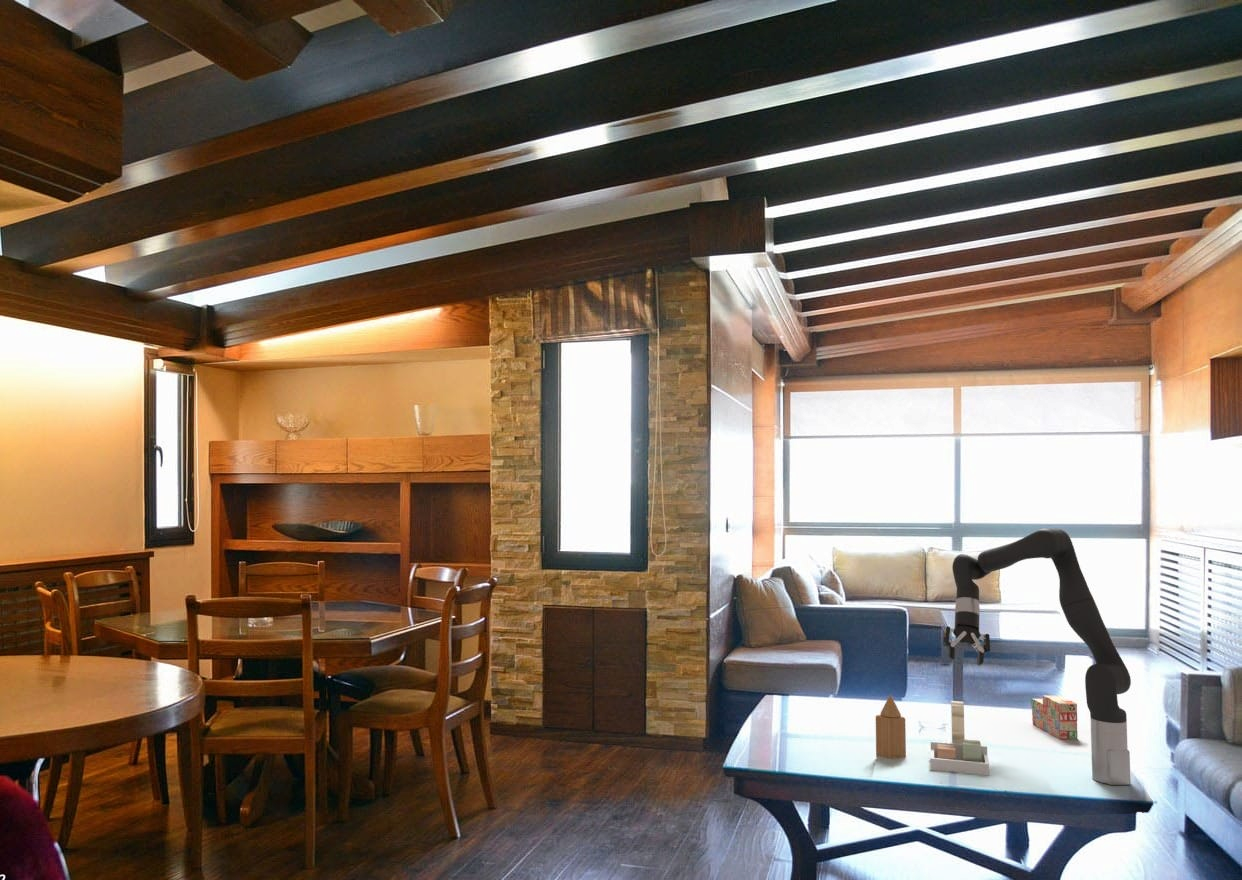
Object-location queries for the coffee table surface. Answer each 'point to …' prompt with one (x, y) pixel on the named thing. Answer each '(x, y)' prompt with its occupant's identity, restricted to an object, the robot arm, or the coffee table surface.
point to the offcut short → (946, 752)
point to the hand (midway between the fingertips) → (965, 662)
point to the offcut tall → (971, 750)
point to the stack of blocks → (1055, 716)
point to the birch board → (957, 721)
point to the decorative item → (890, 731)
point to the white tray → (959, 760)
